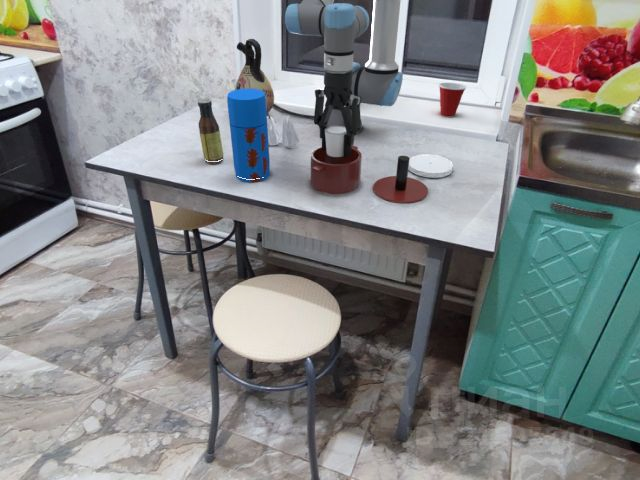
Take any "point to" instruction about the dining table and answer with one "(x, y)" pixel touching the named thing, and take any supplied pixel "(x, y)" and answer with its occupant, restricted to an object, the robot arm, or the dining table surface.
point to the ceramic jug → (254, 72)
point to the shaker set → (288, 133)
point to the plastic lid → (430, 166)
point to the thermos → (249, 134)
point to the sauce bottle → (209, 133)
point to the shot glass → (335, 140)
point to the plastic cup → (450, 98)
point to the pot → (335, 171)
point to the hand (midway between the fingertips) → (336, 152)
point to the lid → (400, 185)
